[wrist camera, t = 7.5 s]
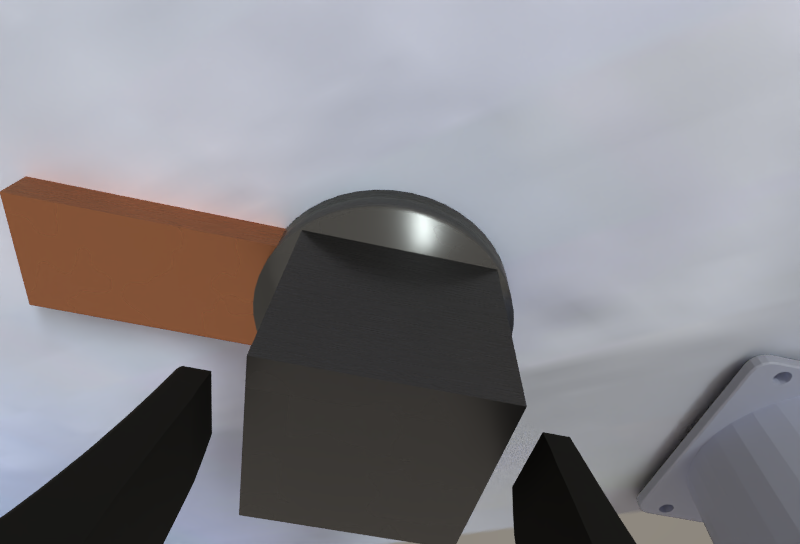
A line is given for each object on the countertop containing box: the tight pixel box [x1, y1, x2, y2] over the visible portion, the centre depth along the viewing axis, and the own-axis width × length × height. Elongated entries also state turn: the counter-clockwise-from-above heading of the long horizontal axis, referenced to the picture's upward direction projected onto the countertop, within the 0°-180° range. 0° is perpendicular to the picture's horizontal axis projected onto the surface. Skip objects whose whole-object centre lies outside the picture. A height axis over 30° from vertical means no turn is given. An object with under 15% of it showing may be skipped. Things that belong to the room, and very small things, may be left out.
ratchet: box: [0, 177, 514, 345], centre depth 13 cm, size 14×7×4 cm, turn 78°
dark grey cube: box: [239, 230, 527, 544], centre depth 12 cm, size 5×5×4 cm
